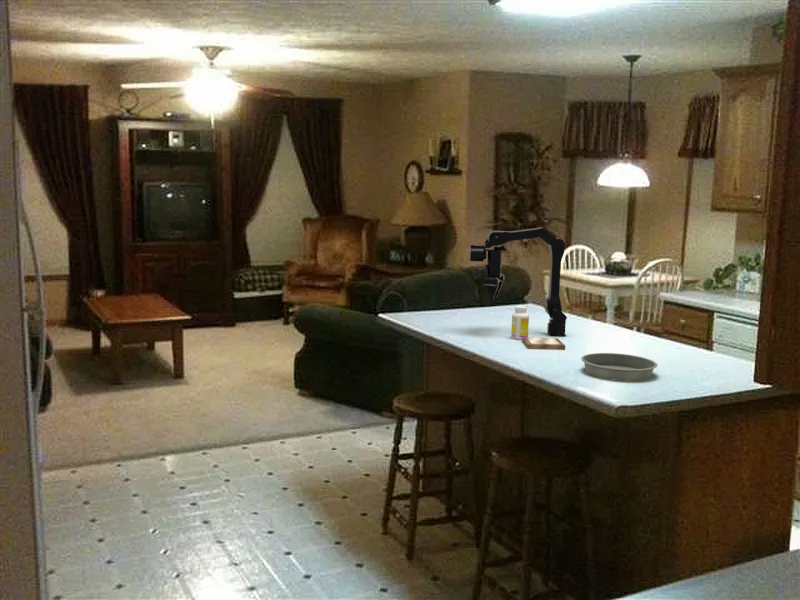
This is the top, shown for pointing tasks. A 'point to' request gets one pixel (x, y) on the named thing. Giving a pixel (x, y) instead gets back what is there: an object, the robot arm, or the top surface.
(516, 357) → the top surface
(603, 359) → the cake pan
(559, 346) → the brown square tray
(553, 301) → the robot arm
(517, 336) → the supplement bottle
